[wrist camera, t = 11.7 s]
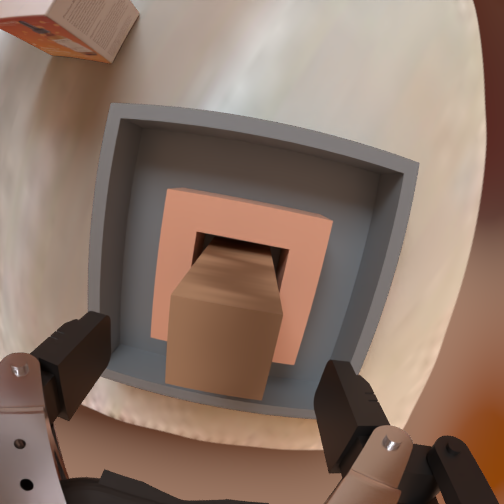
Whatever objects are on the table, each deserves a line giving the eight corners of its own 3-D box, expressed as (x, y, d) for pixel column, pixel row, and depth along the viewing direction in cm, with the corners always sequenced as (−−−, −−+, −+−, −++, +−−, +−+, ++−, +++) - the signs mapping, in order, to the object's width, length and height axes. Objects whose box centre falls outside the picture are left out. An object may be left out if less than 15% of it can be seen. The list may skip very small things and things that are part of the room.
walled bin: (114, 344, 26) (91, 373, 21) (138, 116, 21) (110, 102, 16) (326, 385, 26) (337, 420, 21) (389, 165, 22) (419, 162, 17)
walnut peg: (207, 287, 23) (165, 383, 11) (214, 236, 22) (170, 294, 11) (259, 297, 23) (261, 400, 12) (269, 245, 22) (283, 314, 11)
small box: (51, 56, 20) (-19, 22, 9) (78, 8, 18) (20, -38, 8) (113, 65, 20) (43, 16, 10) (142, 13, 19) (92, -52, 9)
